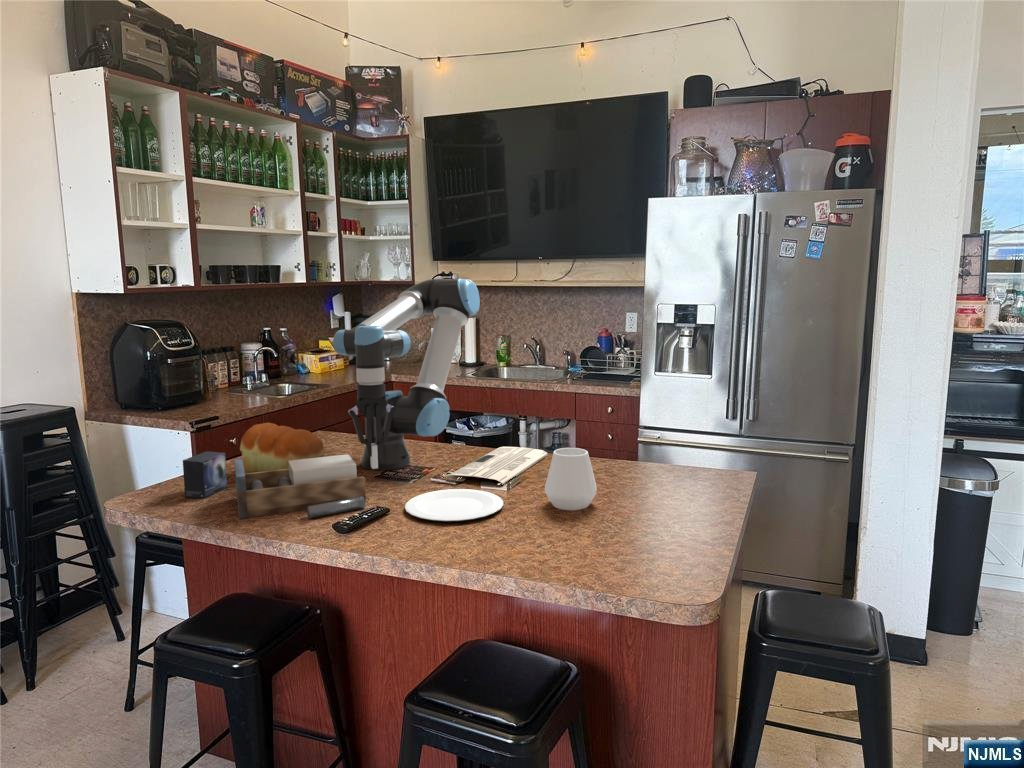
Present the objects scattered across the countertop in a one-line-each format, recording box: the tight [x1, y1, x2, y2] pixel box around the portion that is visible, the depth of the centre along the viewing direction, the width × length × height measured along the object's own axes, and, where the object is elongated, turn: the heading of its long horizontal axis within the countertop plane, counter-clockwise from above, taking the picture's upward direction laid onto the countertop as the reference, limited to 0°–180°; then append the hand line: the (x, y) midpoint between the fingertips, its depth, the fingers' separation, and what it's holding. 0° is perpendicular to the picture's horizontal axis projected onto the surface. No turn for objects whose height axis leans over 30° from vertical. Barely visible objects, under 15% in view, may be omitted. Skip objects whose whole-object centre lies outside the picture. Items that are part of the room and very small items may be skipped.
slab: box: [288, 453, 358, 485], centre depth 185 cm, size 16×12×4 cm
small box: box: [182, 450, 228, 499], centre depth 190 cm, size 11×6×10 cm, turn 168°
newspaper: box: [446, 446, 548, 486], centre depth 213 cm, size 37×19×3 cm, turn 157°
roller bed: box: [233, 458, 367, 519], centre depth 183 cm, size 31×18×10 cm, turn 113°
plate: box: [404, 488, 504, 523], centre depth 175 cm, size 25×25×2 cm
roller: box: [306, 496, 366, 519], centre depth 172 cm, size 14×3×3 cm, turn 123°
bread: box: [239, 422, 326, 473], centre depth 206 cm, size 25×12×15 cm, turn 52°
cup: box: [544, 447, 598, 511], centre depth 176 cm, size 13×13×14 cm
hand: (374, 467), depth 190 cm, fingers closed
